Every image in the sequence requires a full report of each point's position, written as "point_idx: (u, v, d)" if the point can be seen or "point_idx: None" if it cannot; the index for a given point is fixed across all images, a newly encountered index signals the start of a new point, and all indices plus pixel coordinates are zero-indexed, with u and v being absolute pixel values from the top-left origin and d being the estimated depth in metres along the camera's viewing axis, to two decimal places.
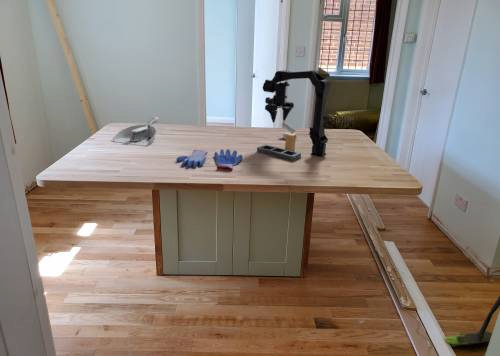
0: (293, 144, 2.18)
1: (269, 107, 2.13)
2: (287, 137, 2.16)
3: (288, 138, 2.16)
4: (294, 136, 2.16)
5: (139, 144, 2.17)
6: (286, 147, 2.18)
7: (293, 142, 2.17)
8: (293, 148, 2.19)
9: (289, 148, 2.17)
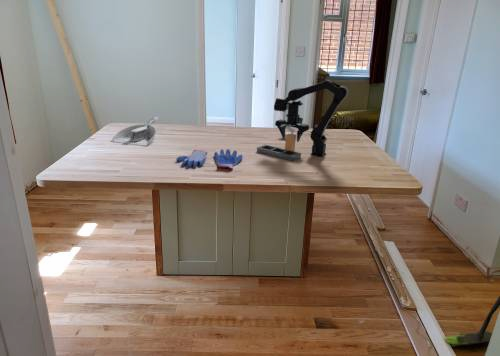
0: (293, 144, 2.18)
1: None
2: (287, 137, 2.16)
3: (288, 138, 2.16)
4: (294, 136, 2.16)
5: (139, 144, 2.17)
6: (286, 147, 2.18)
7: (293, 142, 2.17)
8: (293, 148, 2.19)
9: (289, 148, 2.17)
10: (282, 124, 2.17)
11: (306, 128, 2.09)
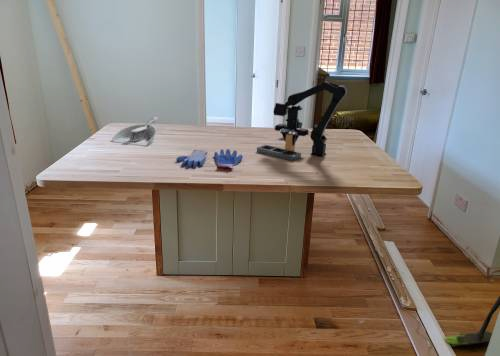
0: None
1: None
2: (287, 137, 2.16)
3: (288, 138, 2.16)
4: None
5: (139, 144, 2.17)
6: (286, 147, 2.18)
7: None
8: (293, 148, 2.19)
9: (289, 148, 2.17)
10: None
11: (305, 133, 2.10)
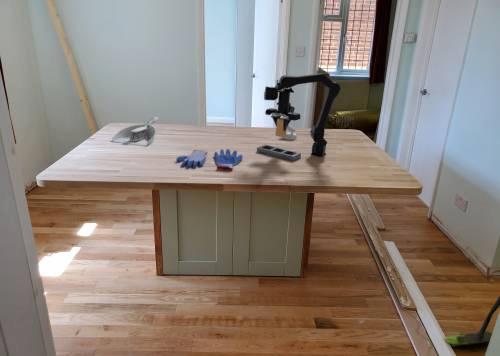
0: None
1: None
2: (278, 122, 2.05)
3: (279, 123, 2.05)
4: None
5: (139, 144, 2.17)
6: (277, 132, 2.07)
7: None
8: (284, 134, 2.07)
9: (280, 133, 2.06)
10: None
11: (297, 117, 1.99)
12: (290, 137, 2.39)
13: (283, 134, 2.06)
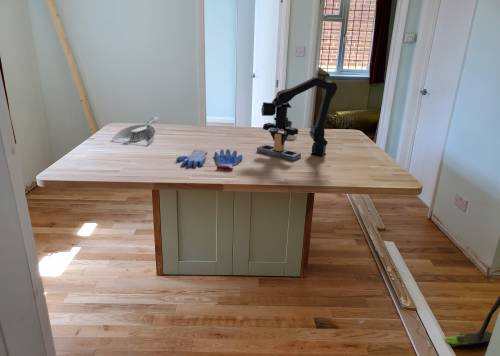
0: None
1: None
2: (276, 136, 2.06)
3: (276, 138, 2.06)
4: None
5: (139, 144, 2.17)
6: (275, 147, 2.08)
7: None
8: (282, 148, 2.09)
9: (278, 148, 2.07)
10: None
11: (295, 132, 2.00)
12: (290, 137, 2.39)
13: (281, 148, 2.08)
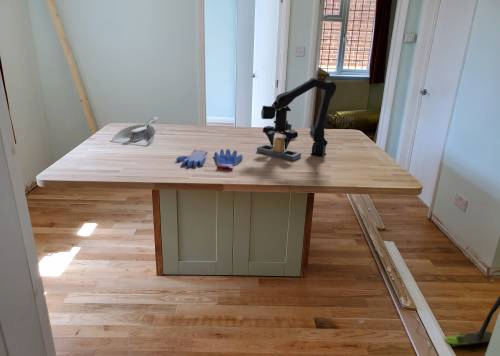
0: (282, 149, 2.08)
1: None
2: (275, 141, 2.07)
3: (276, 143, 2.07)
4: (283, 140, 2.07)
5: (139, 144, 2.17)
6: None
7: (281, 146, 2.07)
8: None
9: None
10: None
11: (294, 135, 2.01)
12: None
13: None
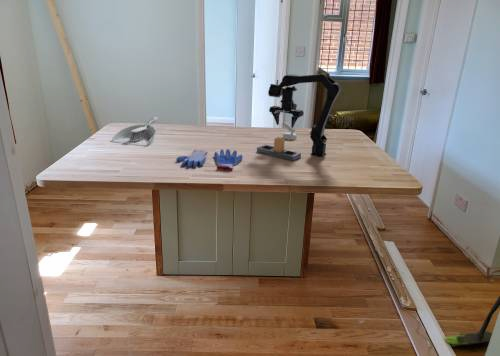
0: (282, 149, 2.08)
1: None
2: (275, 141, 2.07)
3: (276, 143, 2.07)
4: (283, 140, 2.07)
5: (139, 144, 2.16)
6: None
7: (281, 146, 2.07)
8: None
9: None
10: None
11: (301, 114, 2.09)
12: (290, 137, 2.39)
13: None
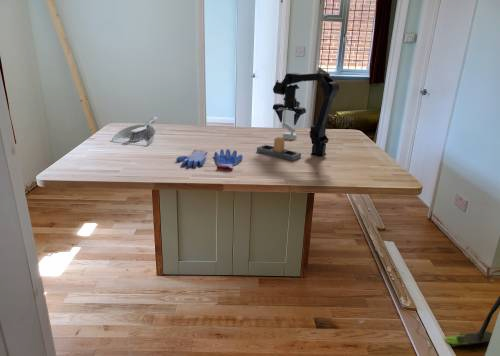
0: (282, 149, 2.08)
1: None
2: (275, 141, 2.07)
3: (276, 143, 2.07)
4: (283, 140, 2.07)
5: (138, 144, 2.16)
6: None
7: (281, 146, 2.07)
8: None
9: None
10: None
11: (303, 111, 2.14)
12: (290, 137, 2.39)
13: None
